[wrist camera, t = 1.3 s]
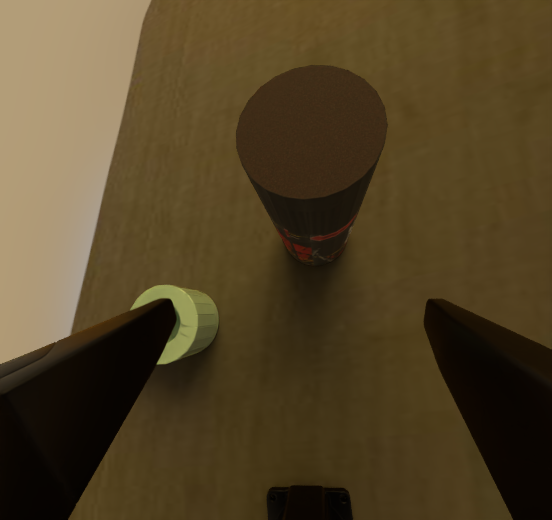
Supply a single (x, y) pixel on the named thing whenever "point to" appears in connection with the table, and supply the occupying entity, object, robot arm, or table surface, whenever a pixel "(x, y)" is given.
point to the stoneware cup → (185, 320)
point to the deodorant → (312, 155)
